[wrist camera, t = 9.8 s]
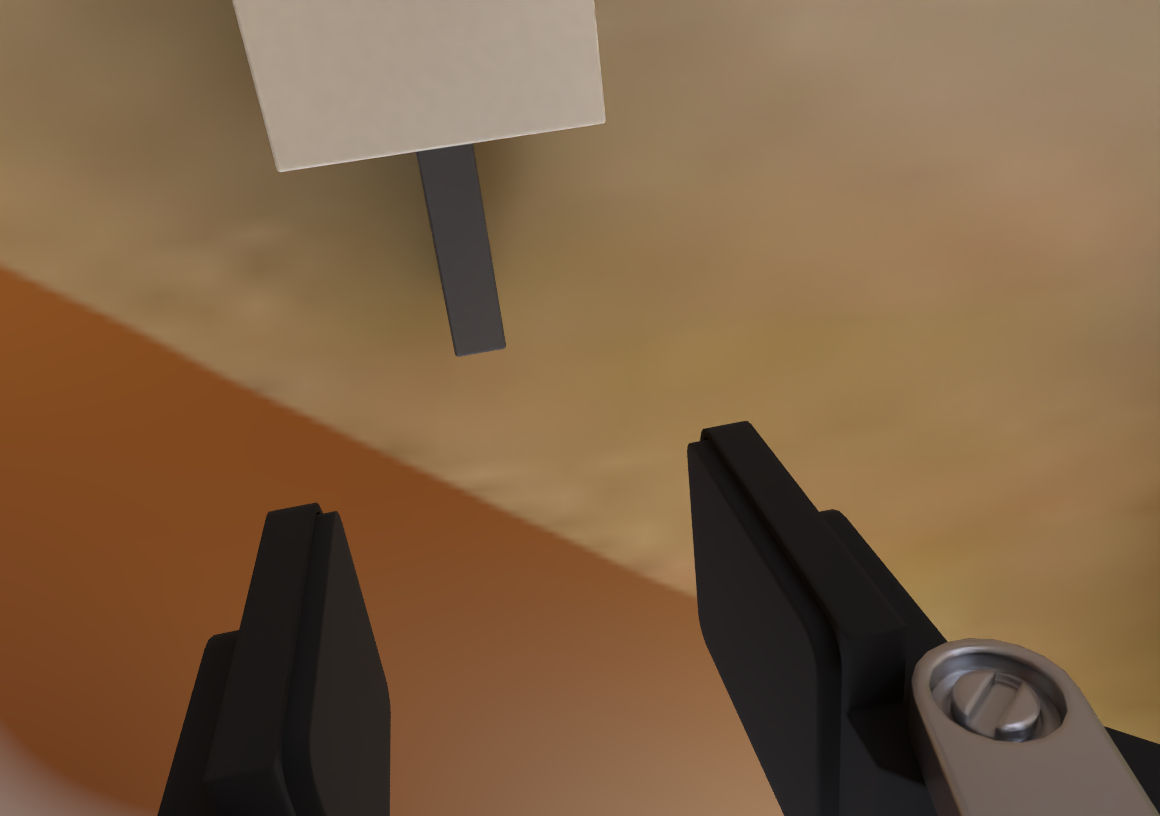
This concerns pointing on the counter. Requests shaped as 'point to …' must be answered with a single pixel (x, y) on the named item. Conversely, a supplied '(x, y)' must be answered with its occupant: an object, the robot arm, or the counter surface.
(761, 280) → the counter surface
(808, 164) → the counter surface
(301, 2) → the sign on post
